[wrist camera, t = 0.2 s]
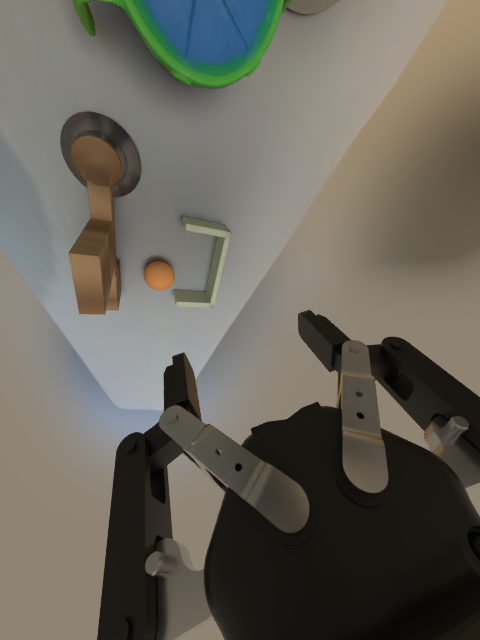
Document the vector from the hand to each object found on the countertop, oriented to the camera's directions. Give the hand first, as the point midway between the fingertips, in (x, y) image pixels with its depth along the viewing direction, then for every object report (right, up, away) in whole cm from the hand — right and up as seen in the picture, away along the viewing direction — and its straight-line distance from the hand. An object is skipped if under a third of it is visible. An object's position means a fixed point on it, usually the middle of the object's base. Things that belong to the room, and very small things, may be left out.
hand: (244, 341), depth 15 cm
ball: (-12, +8, +16) cm, 21 cm away
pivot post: (-15, +18, +8) cm, 25 cm away
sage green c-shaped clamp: (-7, +10, +19) cm, 22 cm away
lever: (-16, +13, +12) cm, 24 cm away
